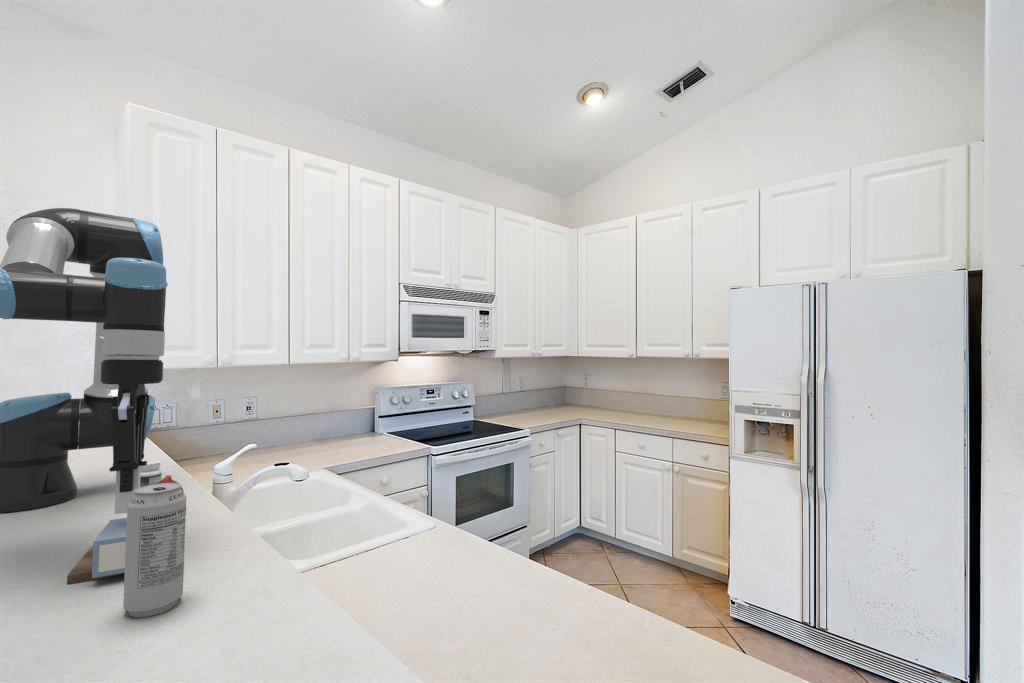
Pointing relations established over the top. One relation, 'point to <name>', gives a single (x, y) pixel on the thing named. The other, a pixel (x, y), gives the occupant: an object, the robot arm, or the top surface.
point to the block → (110, 549)
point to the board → (85, 570)
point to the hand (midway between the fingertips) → (127, 511)
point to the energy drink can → (154, 549)
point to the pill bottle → (150, 473)
